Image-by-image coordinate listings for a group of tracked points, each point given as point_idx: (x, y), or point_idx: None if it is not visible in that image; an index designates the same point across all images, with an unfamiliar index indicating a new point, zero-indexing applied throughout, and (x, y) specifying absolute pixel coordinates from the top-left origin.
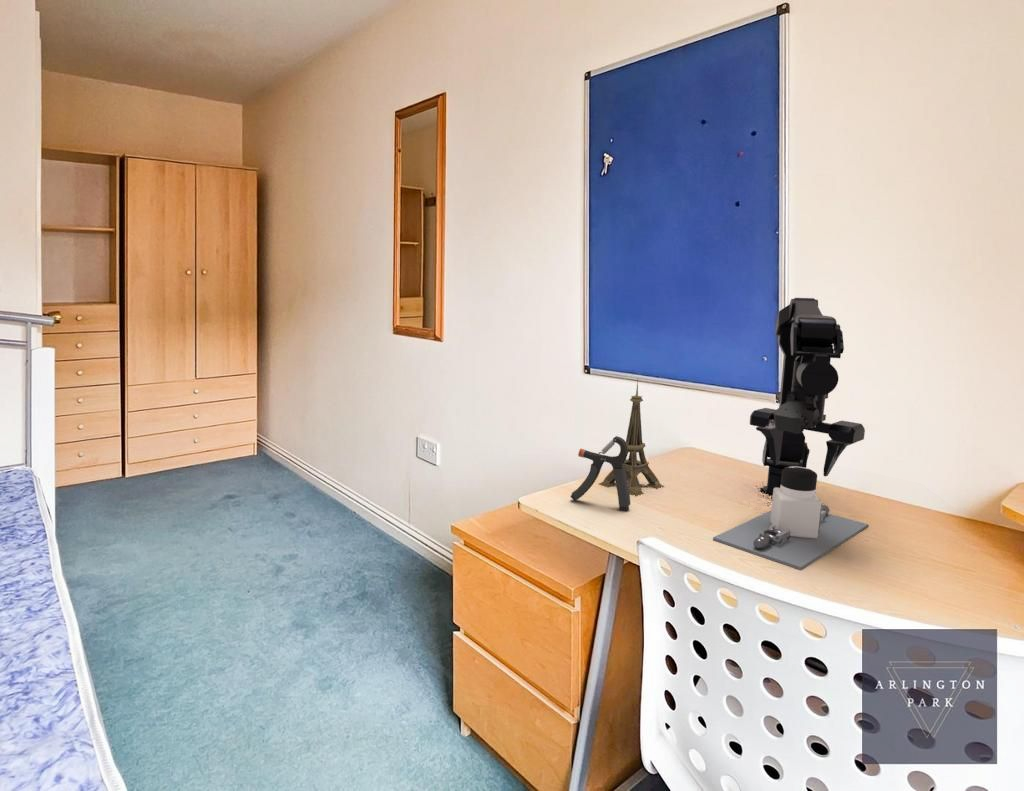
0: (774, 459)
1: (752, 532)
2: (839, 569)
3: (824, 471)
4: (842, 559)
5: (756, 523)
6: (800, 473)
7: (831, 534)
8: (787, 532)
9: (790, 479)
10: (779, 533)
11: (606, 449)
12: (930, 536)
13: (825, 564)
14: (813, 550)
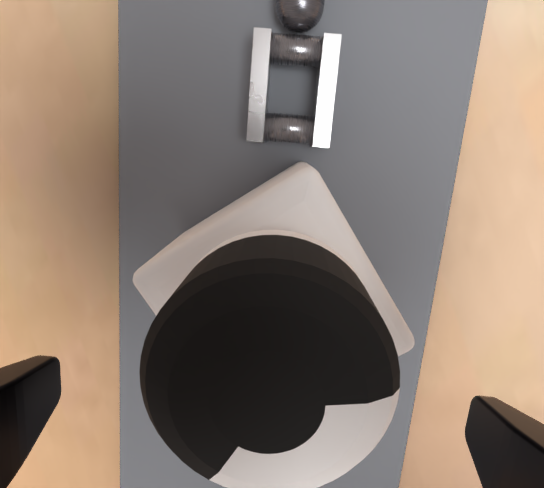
0: (514, 419)
1: (389, 118)
2: (36, 32)
3: (24, 371)
4: (66, 136)
5: (410, 228)
6: (224, 303)
7: None
8: (248, 110)
9: (291, 253)
10: (266, 63)
11: None
12: None
13: (86, 40)
14: (152, 113)
